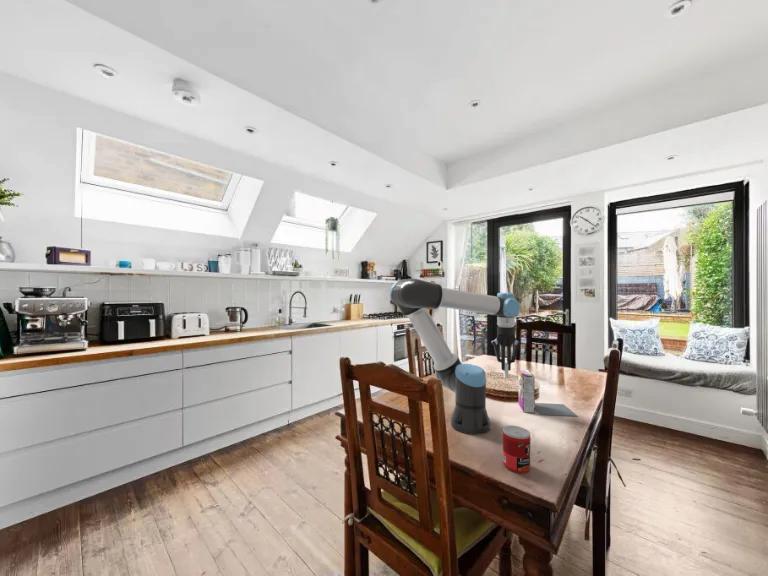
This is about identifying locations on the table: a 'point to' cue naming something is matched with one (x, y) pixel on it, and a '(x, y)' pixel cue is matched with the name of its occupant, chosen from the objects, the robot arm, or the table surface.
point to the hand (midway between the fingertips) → (506, 377)
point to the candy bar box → (526, 391)
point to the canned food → (516, 449)
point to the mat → (554, 409)
